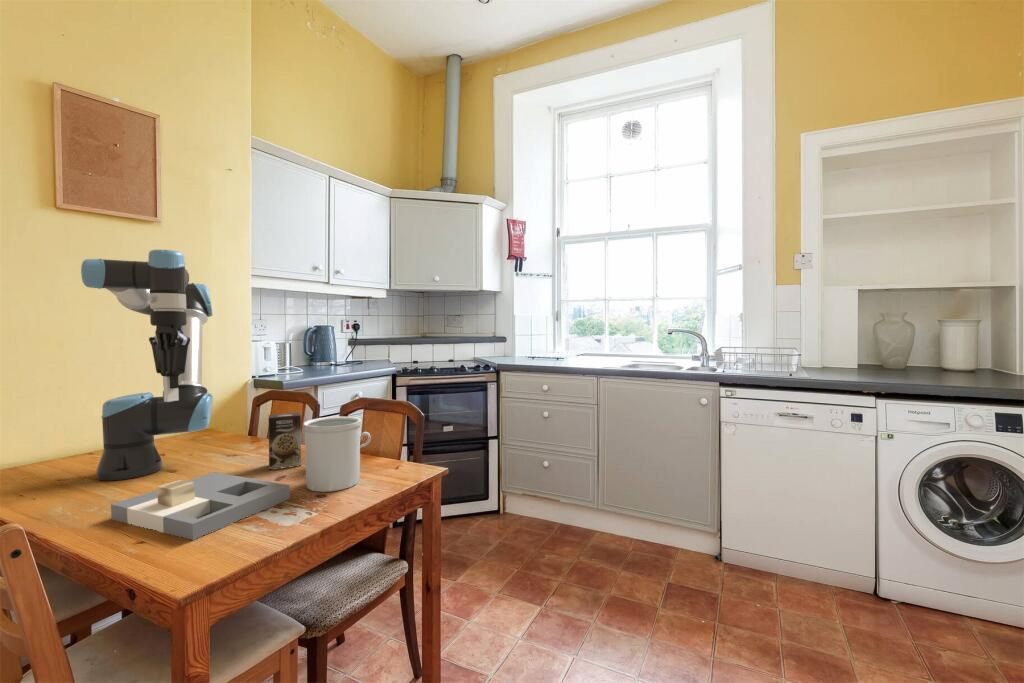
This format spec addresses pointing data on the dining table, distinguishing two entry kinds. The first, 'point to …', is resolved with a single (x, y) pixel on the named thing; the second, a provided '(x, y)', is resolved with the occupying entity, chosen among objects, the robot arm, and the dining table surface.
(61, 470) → the dining table surface
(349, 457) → the utensil holder
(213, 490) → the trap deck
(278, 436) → the coffee box
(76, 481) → the dining table surface
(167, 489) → the birch block
